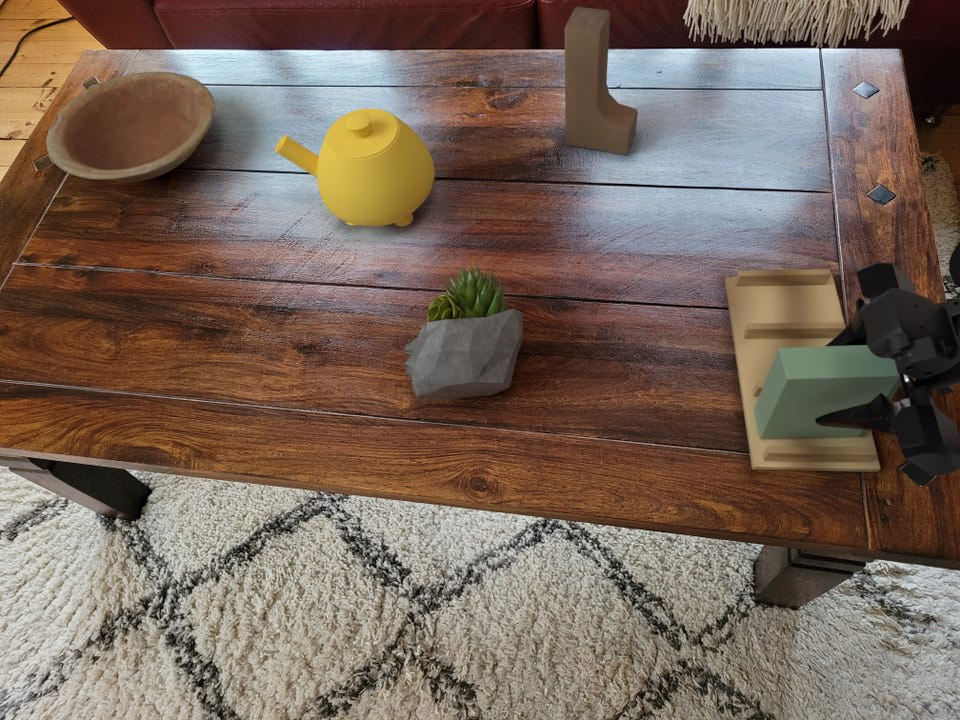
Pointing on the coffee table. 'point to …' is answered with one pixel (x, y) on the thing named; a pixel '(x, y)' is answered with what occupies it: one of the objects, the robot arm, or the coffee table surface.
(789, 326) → the rack
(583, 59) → the wooden block
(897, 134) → the coffee table surface
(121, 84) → the bowl
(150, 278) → the coffee table surface
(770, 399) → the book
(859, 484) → the coffee table surface
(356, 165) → the teapot
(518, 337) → the potted plant
